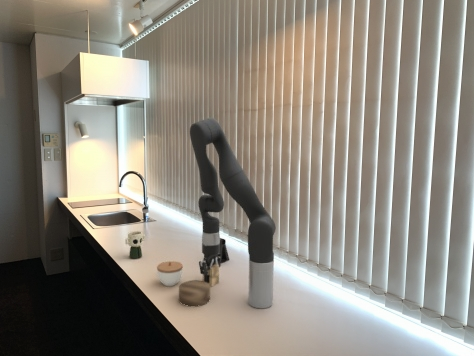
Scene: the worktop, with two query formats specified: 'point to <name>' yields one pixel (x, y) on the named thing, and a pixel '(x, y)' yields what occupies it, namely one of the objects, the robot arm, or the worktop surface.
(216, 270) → the oak block
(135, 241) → the character mug
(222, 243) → the phone stand
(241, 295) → the worktop surface
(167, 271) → the lidded jar
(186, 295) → the walnut plinth
